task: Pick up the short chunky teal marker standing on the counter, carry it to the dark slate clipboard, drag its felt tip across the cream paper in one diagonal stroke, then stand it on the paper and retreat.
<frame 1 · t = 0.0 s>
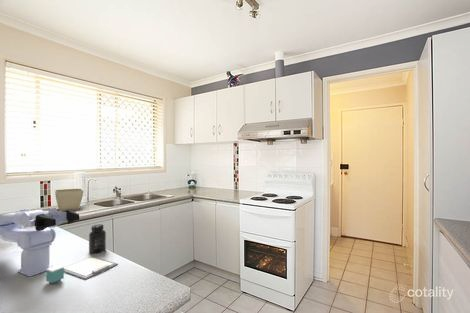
hand: (66, 219, 81), 22 cm above the worktop, tool horizontal, fingers open, 7 cm apart
clipboard: (89, 267, 91), on the worktop
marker: (55, 282, 81), on the worktop
supplement bottle: (97, 251, 108), on the worktop
flower pot: (69, 209, 198), on the worktop
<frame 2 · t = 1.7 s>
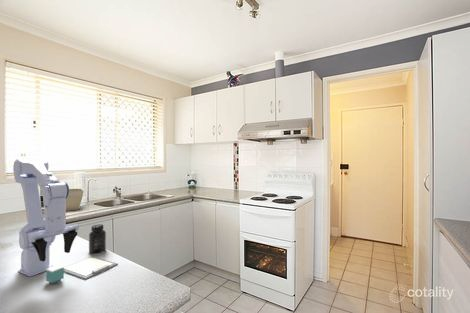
hand: (55, 256, 81), 9 cm above the worktop, tool pointing down, fingers open, 7 cm apart
nothing on the worktop moved.
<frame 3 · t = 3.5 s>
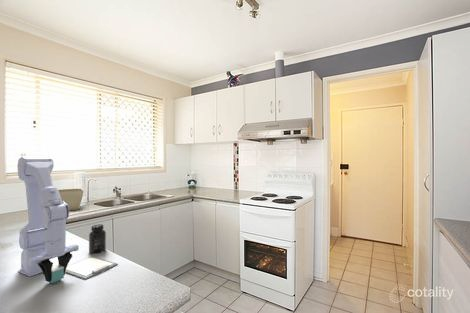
hand: (55, 278, 81), 1 cm above the worktop, tool pointing down, fingers closed on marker, 4 cm apart
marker: (55, 282, 81), on the worktop, touching gripper
everything else where it was.
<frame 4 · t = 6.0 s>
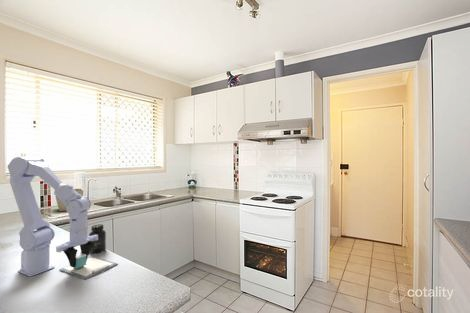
hand: (78, 264, 90), 2 cm above the worktop, tool pointing down, fingers closed on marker, 4 cm apart
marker: (78, 268, 90), point 1 cm above the worktop, touching clipboard, gripper
everything else where it was.
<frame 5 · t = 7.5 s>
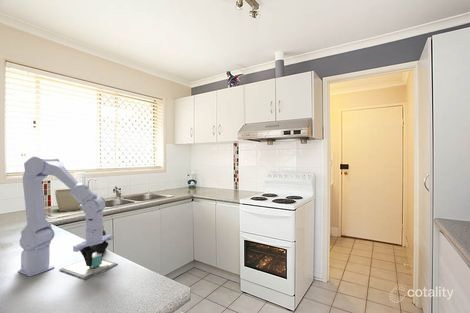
hand: (94, 263, 90), 2 cm above the worktop, tool pointing down, fingers closed on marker, 4 cm apart
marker: (94, 267, 90), point 1 cm above the worktop, touching clipboard, gripper
everything else where it was.
when the fingers open (2 cm above the worktop, at t = 8.5 s): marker stays where it is, resting on clipboard.
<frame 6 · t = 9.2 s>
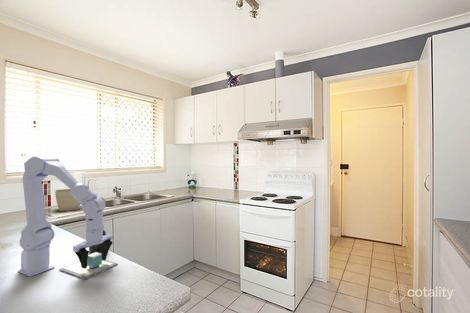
hand: (94, 263, 90), 2 cm above the worktop, tool pointing down, fingers open, 7 cm apart
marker: (94, 267, 90), point 1 cm above the worktop, touching clipboard
everything else where it was.
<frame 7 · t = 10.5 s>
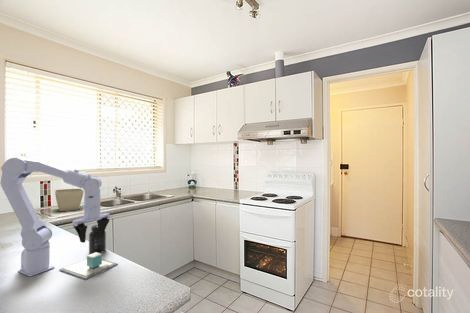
hand: (92, 239, 96), 10 cm above the worktop, tool pointing down, fingers open, 7 cm apart
nothing on the worktop moved.
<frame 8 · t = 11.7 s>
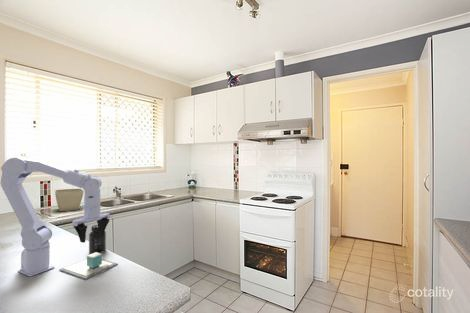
hand: (92, 239, 96), 10 cm above the worktop, tool pointing down, fingers open, 7 cm apart
nothing on the worktop moved.
at the end: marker inside the target area on the clipboard (3.1 cm from its centre), point 0.7 cm above the clipboard's base; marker moved 12.4 cm from its start; the gripper is holding nothing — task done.
